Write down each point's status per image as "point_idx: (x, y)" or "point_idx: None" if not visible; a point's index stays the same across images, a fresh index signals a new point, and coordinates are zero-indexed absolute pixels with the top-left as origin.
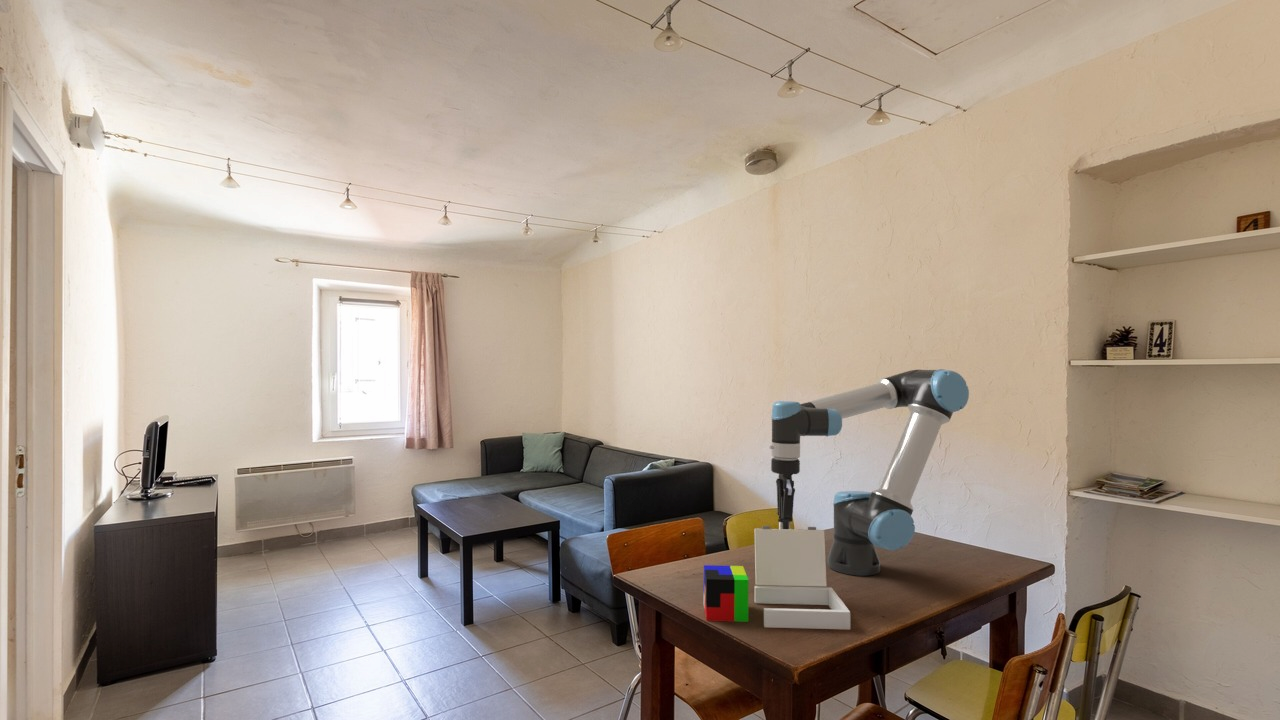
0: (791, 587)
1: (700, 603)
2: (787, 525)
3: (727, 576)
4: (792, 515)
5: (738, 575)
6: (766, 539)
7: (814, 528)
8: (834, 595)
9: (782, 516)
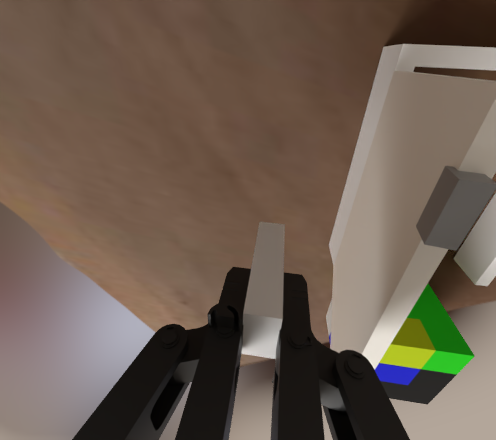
0: None
1: (322, 319)
2: (307, 323)
3: (426, 378)
4: (397, 417)
5: (430, 362)
6: None
7: (479, 194)
8: (483, 61)
9: (330, 418)
